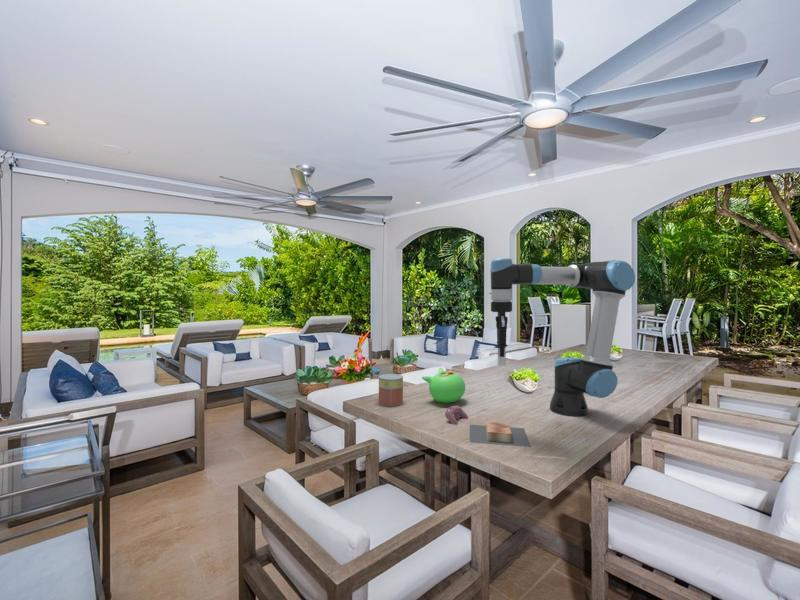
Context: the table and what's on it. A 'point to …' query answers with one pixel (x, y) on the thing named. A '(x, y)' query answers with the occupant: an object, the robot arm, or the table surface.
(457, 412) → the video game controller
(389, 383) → the canned food
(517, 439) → the rubber mat
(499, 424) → the oak tile
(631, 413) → the table surface
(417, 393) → the table surface
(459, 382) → the toy bird
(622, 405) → the table surface
